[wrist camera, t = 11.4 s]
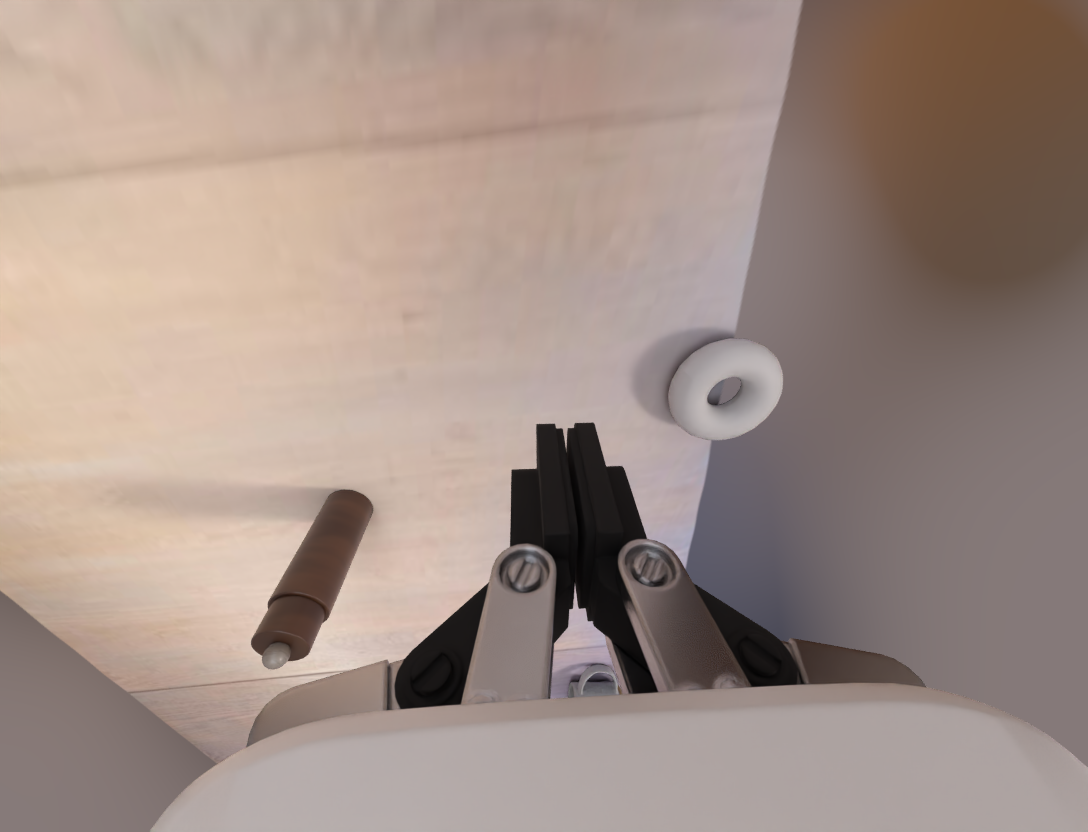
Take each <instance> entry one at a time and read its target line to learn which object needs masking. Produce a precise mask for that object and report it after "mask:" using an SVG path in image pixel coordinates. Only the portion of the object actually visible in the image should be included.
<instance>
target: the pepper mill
mask: <svg viewBox="0 0 1088 832" xmlns="http://www.w3.org/2000/svg"><path fill="white" fill-rule="evenodd" d="M372 513H373V506H372V504H371V502H370V501H369V500H368V498H366V497H365V496H364V495H362V494H360V493H358V492H355V491H350V490H340V491H336V492H334V493H332V494H331V495H330V496H329V497H328V498H327V500H326V502H325V503H324V505H323V507H322V509H321V510H320V512H319V514H318V516H317V517H316V519H315V521H314V523H313V524H312V526H311V528H310V530H309V531H308V533H307V535H306V537H305V538H304V540H303V542H302V544H301V545H300V547H299V549H298V551H297V552H296V554H295V556H294V558H293V559H292V561H291V563H290V565H289V566H288V568H287V570H286V572H285V573H284V575H283V577H282V579H281V580H280V582H279V584H278V586H277V587H276V589H275V591H274V593H273V594H272V596H271V598H270V600H269V601H268V611H267V613H266V615H265V616H264V618H263V620H262V622H261V624H260V625H259V627H258V629H257V631H256V632H255V634H254V636H253V638H252V640H251V645H252V648H253V649H254V650H255V651H256V652H257V653H259V654H260V655H262V662H263V665H264V666H265V667H266V668H268V669H277V668H280V667H282V666H283V665H284V664H285V663H286V662H287V661H295V660H299V659H302V658H304V657H306V656H307V655H308V654H309V652H310V650H311V648H312V645H313V643H314V641H315V639H316V636H317V634H318V632H319V629H320V627H321V625H322V623H323V622H325V621H326V620H327V619H328V617H329V615H330V613H331V610H332V608H333V606H334V603H335V601H336V599H337V596H338V594H339V591H340V589H341V587H342V584H343V582H344V580H345V577H346V575H347V572H348V570H349V568H350V565H351V563H352V560H353V558H354V556H355V553H356V551H357V549H358V546H359V544H360V541H361V539H362V537H363V534H364V532H365V530H366V527H367V525H368V522H369V520H370V518H371V515H372Z"/></svg>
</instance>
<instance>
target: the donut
mask: <svg viewBox="0 0 1088 832" xmlns="http://www.w3.org/2000/svg"><path fill="white" fill-rule="evenodd" d="M730 377H736V378H739V379H740V381H741V386H740V390H739V391H738V393H737V394H736V395H735V396H734V397H733V398H732V399H731V400H729V401H727V402H726V403H723V404H720V405H711V404H709V403H708V402H707V396H708V393H709V392H710V390H711V389H712V388H713V387H714V386H715V385H716V384H717V383H718V382H720V381H722V380H724V379H727V378H730ZM782 388H783V372H782V369H781V367H780V364H779V361H778V359H777V358H776V356H775V355H774V354H773V353H772V352H771V351H769V350H768V349H767V348H766V347H765V346H764V345H761V344H759V343H756V342H754V341H751V340H748V339H735V338H728V339H724V340H720V341H717V342H713V343H709V344H707V345H705V346H704V347H702V348H700V349H699V350H697V351H695V352H693V353H692V354H691V355H690V356H689V357H688V358H687V359H686V360H685V361H684V362H683V363H682V364H681V365H680V367H679V368H678V370H677V372H676V373H675V375H674V377H673V379H672V381H671V385H670V389H669V394H668V400H669V408H670V412H671V414H672V416H673V418H674V419H675V421H676V423H677V424H678V425H679V426H680V427H681V428H682V429H683V430H685V431H686V432H687V433H689V434H690V435H692V436H696V437H699V438H702V439H706V440H725V439H729V438H733V437H737V436H740V435H742V434H744V433H746V432H747V431H750V430H751V429H754V428H755V427H756V426H757V425H759V424H760V423H761V422H762V421H763V420H765V419H766V418H767V417H768V415H769V414H770V413H771V411H772V410H773V409H774V408H775V406H776V405H777V402H778V400H779V398H780V395H781V393H782Z"/></svg>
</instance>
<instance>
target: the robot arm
mask: <svg viewBox="0 0 1088 832" xmlns="http://www.w3.org/2000/svg"><path fill="white" fill-rule="evenodd" d="M536 435H537V469H517V470H512V477H511V532H510V547H509V548H507V549H506V550H504V551H503V552H502V553H501V554H500V555H499V556H498V557H497V558H496V560H495V563H494V565H493V567H492V572H491V576H490V580H489V583H488V584H487V585H485V586H484V587H483V588H482V589H481V590H480V591H479V592H478V593H476V594H475V595H474V596H473V597H472V598H471V599H470V600H469V601H467V602H466V603H465V604H464V605H463V606H462V607H461V608H460V609H458V610H457V611H456V612H455V613H454V614H453V615H452V616H451V617H449V618H448V619H447V620H446V621H445V622H444V623H443V624H442V625H440V626H439V627H438V628H437V629H436V630H435V631H434V632H433V633H431V634H430V635H429V636H428V637H427V638H426V639H425V640H423V641H422V642H421V643H420V644H419V645H418V646H417V647H416V648H414V649H413V650H412V651H411V652H410V654H409V655H408V656H407V657H406V658H405V659H403V660H400V661H396V662H393V663H389V662H388V660H384V661H381V662H378V663H374V664H371V665H367V666H364V667H360V668H357V669H354V670H350V671H347V672H343V673H340V674H337V675H333V676H330V677H326V678H323V679H319V680H316V681H313V682H309V683H306V684H302V685H299V686H295V687H292V688H290V689H288V690H286V691H284V692H282V693H280V694H278V695H277V696H276V697H275V698H274V699H272V700H271V701H270V702H269V703H267V704H266V706H265V707H264V708H263V710H262V711H261V712H260V714H259V715H258V716H257V717H256V719H255V722H254V724H253V726H252V729H251V731H250V734H249V738H248V742H247V746H246V748H245V749H243V750H241V751H239V752H237V753H235V754H233V755H232V756H230V757H228V758H227V759H225V760H224V761H222V762H220V763H219V764H217V765H216V766H214V767H213V768H211V769H209V770H208V771H207V772H206V773H204V774H203V775H202V776H200V777H199V778H198V779H196V780H195V781H194V782H192V783H191V784H190V785H189V786H188V787H187V788H186V789H185V790H184V791H183V792H182V793H181V794H180V795H179V796H178V797H177V798H176V799H175V800H174V801H173V802H172V804H171V805H170V806H169V807H168V808H167V809H166V810H165V812H164V813H163V814H162V816H161V817H160V818H159V819H158V821H157V822H156V824H155V825H154V826H153V828H152V829H151V830H150V832H1088V768H1087V767H1086V766H1085V765H1084V764H1083V763H1082V762H1080V761H1079V760H1078V759H1077V758H1076V757H1075V756H1074V755H1072V754H1071V753H1070V752H1069V751H1068V750H1066V749H1065V748H1064V747H1063V746H1061V745H1060V744H1059V743H1057V742H1056V741H1055V740H1053V739H1052V738H1051V737H1050V736H1048V735H1046V734H1045V733H1044V732H1042V731H1040V730H1038V729H1037V728H1035V727H1034V726H1032V725H1030V724H1028V723H1027V722H1025V721H1023V720H1021V719H1019V718H1017V717H1015V716H1013V715H1011V714H1008V713H1006V712H1004V711H1001V710H999V709H997V708H994V707H992V706H989V705H986V704H983V703H981V702H978V701H975V700H972V699H969V698H967V697H963V696H960V695H956V694H952V693H949V692H945V691H941V690H937V689H931V688H927V687H926V686H925V684H924V683H923V681H922V680H921V679H920V678H919V677H918V676H917V675H916V674H915V673H914V672H913V671H912V670H911V669H909V668H908V667H907V666H905V665H904V664H902V663H900V662H899V661H897V660H895V659H894V658H890V657H888V656H884V655H882V654H877V653H871V652H865V651H860V650H855V649H849V648H843V647H838V646H832V645H827V644H821V643H815V642H810V641H804V640H799V639H793V638H791V639H790V640H789V641H788V642H785V641H780V640H779V639H778V638H777V637H775V636H774V635H773V634H771V633H770V632H769V631H767V630H766V629H764V628H763V627H761V626H759V625H758V624H756V623H755V622H753V621H752V620H750V619H749V618H747V617H745V616H744V615H742V614H740V613H739V612H737V611H736V610H734V609H733V608H731V607H730V606H728V605H727V604H725V603H723V602H722V601H720V600H719V599H717V598H715V597H714V596H712V595H711V594H709V593H708V592H706V591H705V590H703V589H701V588H700V587H698V586H697V585H695V584H694V583H693V582H692V581H691V579H690V577H689V575H688V574H687V572H686V570H685V568H684V566H683V565H682V563H681V561H680V559H679V558H678V557H677V555H676V554H675V553H674V551H672V550H671V549H670V548H669V547H667V546H666V545H664V544H662V543H660V542H658V541H655V540H650V539H647V537H646V534H645V531H644V528H643V525H642V522H641V519H640V516H639V513H638V510H637V507H636V504H635V500H634V497H633V494H632V491H631V488H630V485H629V482H628V479H627V476H626V473H625V470H624V468H623V467H622V466H610V467H606V465H605V461H604V457H603V454H602V450H601V446H600V443H599V439H598V435H597V432H596V428H595V424H594V423H575V425H574V428H568V431H567V452H566V447H565V441H564V434H563V429H562V428H560V429H556V426H555V424H537V426H536ZM575 586H576V594H577V601H578V607H579V609H581V608H586V612H587V619H588V621H593V624H594V626H595V627H596V628H597V629H598V630H600V631H601V632H602V633H603V634H604V635H605V638H606V644H607V647H608V650H609V654H610V657H611V660H612V663H613V666H614V669H615V672H616V675H617V678H618V681H619V684H620V687H621V691H622V694H623V695H607V696H590V697H574V698H557V699H550V694H551V681H552V667H553V653H554V643H555V642H556V640H557V639H558V638H559V637H560V636H561V635H562V634H563V632H564V631H565V630H566V629H567V628H568V620H569V609H573V599H574V587H575Z"/></svg>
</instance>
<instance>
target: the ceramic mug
mask: <svg viewBox="0 0 1088 832" xmlns="http://www.w3.org/2000/svg"><path fill="white" fill-rule="evenodd" d="M596 673H606V674H609V675H610V676H612V678H613V682H586V681H587V680H588V679H589V678H590V677H591V676H592V675H594V674H596ZM607 695H623V694H622V691H621V688H620V687H619V686H618V684H617V679H616V677H615V674H614V672H613V670H612V669H611V668H609V667H608V666H606V665H601V664H598V665H592V666H590V667H588V668H587V669H586V670H585V671H584V672H583V673H582V675H581V678H580V681H579V682H571V683H570V685H569V689H568V698H574V697H590V696H607Z"/></svg>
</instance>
